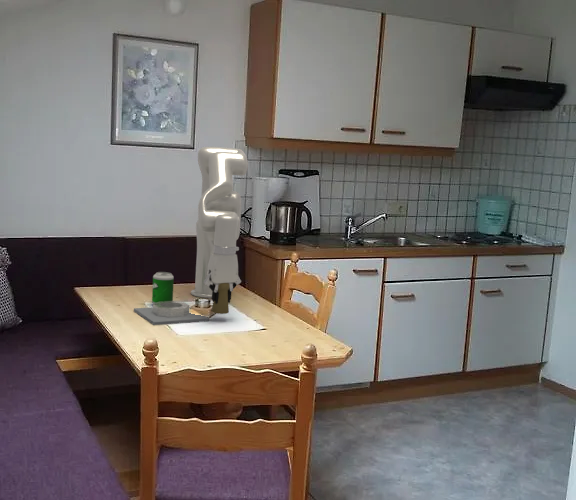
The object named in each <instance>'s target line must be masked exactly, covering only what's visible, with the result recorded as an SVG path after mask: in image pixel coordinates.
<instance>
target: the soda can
mask: <svg viewBox="0 0 576 500" xmlns="http://www.w3.org/2000/svg"><path fill="white" fill-rule="evenodd" d="M174 283H175V282H174V275H173V274H172V273H171V272H166V271H158V272H156V273H155V274H153V276H152V290H151V291H152V294H151V295H152V296H151V303H152V305H153V304H155V303H157V302H161V301H174V298H173V297H174Z"/></svg>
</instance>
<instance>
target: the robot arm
mask: <svg viewBox="0 0 576 500" xmlns="http://www.w3.org/2000/svg"><path fill="white" fill-rule="evenodd" d="M197 161H198V167H199V169H200V174H201V179H202V181H201V196H200V198H199V201H198V205H197V211H198V212H197V216H198V217H197V221H196V223H195V233H196V262H195V263H196V264H195V278H194V279H195V281H194V282H195V284H194V289H192V290H191V291H190V294H191V295H192V296H194V297H196V298H197V297H198V298H207V299H208V298H211V300H212V303H213V302H214V301H215V303H216V304H217V303H218V298H219V293H218V285H219V284H221V283H229V284H230V288H229V290H228V304H229V303H231V300H232V292H233V291H234V289H235V288H236V287H237V286H238V285H240V284H241V283H242V280H241V279H240V276H239V261H238V260H239V259H238V254H237V252H238V251H239V250H240V247H239V246H237V240H238V239H239V237H240V234H241V233H240V232H241V220H242V219H241V217H242V197H241V194H240V193H239V192H237V191H235V190H233V189H234V181H233V176H245V175H246V174H247V172H248V169H249V161H248V157H247V155H246V153H245V152H244V151H243V150H242V149H240V148H234V147H222V146H203V147H201V148H199V149H198V152H197Z"/></svg>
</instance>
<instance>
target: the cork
mask: <svg viewBox="0 0 576 500" xmlns="http://www.w3.org/2000/svg"><path fill="white" fill-rule="evenodd" d="M229 288H230V284H229V283H221V284H219V285H218V293H219V298H218V303H217V304H216V303H215V301H214V302H213V301H212V306H211V312H212V313H214V314H220V315H225V314H229V310H230V309H229V307H230V306H229V303H228V290H229Z"/></svg>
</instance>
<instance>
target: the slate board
mask: <svg viewBox="0 0 576 500" xmlns="http://www.w3.org/2000/svg"><path fill="white" fill-rule="evenodd" d="M189 308H191V307H190V306H189ZM133 312H134V313H136V314H137V315H138V316H140V317H141V318H143V319H144V320H146V321H147V322H149V323H150V324H152V326H160V325H174V324H188V323H200V322H199V321H204V322H209V321H210V317H207V316H206V315H204V316H201V315H195V314H191V313H189V314H188V315H186V316H184V317H173V318H170V317H162V316H157V315H156V314H154V313H153V306H151V307H135V308H134V307H133Z"/></svg>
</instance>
